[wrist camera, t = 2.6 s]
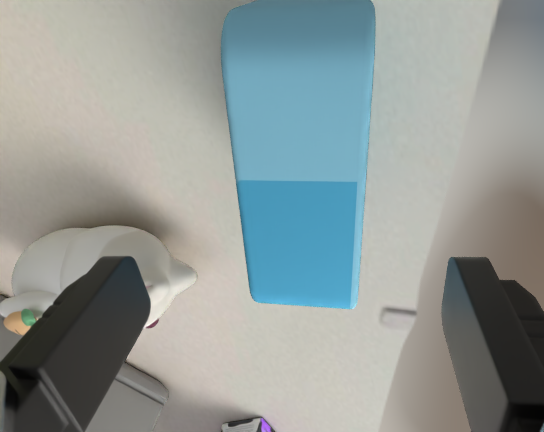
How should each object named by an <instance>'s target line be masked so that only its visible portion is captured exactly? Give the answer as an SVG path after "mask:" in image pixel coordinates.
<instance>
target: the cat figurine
mask: <svg viewBox="0 0 544 432" xmlns="http://www.w3.org/2000/svg"><path fill="white" fill-rule="evenodd" d="M103 256H131V257H133V258H134V259H135V261H136V263H137V265H138V268H139V270H140V273H141V276H142V278H143V281H144V284H145V286H146V289H147V292H148V294H149V297H150V301H151V310H150V315H149V318H148V321H147V323H146V324H145V326H144V328H152V327H154V326H155V325H156V324H157V323H158V321H159V317H160V316H161V315H162V314H163V313H164V312H165V311H166V310H167V308H168V307H169V305H170V304H171V302H172V300H173V299H174V297H175V296H176V295H177V294H179V293H180V292H182V291H184V290H186V289H187V288H189V287H190V286H192V285H193V284H194V283H195V282H196V280H197V273H196V271H195V270H194V269H193V268H192V267H190V266H188V265H187V264H185V263H183V262H181V261H179V260H177V259H175V258H174V257H172V256H171V255H170V253H169V251H168V250H167V248H166V247H165V245H164V244H163V243H162V242H161V241H160V240H159V239H158V238H157V237H155V236H154V235H152V234H150V233H148V232H146V231H144V230H141V229H137V228H133V227H128V226H119V225H110V226H100V227H95V228H91V229H87V228H67V229H62V230H58V231H55V232H52V233H49V234H47V235H45V236H43V237H41V238H40V239H38V240H36V241H35V242H34V243H32V244H31V245H30V246H29V247H28V248H27V249H26V250H25V251H24V252H23V253H22V254H21V256H20V257H19V259H18V260H17V262H16V264H15V267H14V270H13V274H12V289H13V293H14V297H10V298H7V299H5V300H3V301H2V302H1V303H0V314H1V315H2V316H4V317H6V318H5V319H4V321H3V323H4V326H5V327H6V328H7V329H8V330H10V331H12V332H14V333H16V334H19V335H25V333H26V332H27V331H28V330H29V329H30V328H31V327H32V325H33V324H34V323H35V322H36V321H37V320H38V319H39V318H42V314H43V313H44V312H45V311H46V310H47V308H48V307H49V306H50V305H53V302H54V301H55V299H56V298H57V297H58V296H59V295H60V294H61V293H62V291H63V290H64V289H65V288H66V287H67V286H69V285H70V284H72V283H73V282H74V281H76V280H77V279H79V278H80V277H81V276H83V275H84V274H87V272H88V271H89V270H90V269H91V268H92V267H93V265H94V264H95V263H96V262H97V261H98V260H99V259H100V258H101V257H103ZM144 328H143V329H144Z"/></svg>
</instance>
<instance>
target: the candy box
mask: <svg viewBox="0 0 544 432" xmlns="http://www.w3.org/2000/svg"><path fill="white" fill-rule="evenodd" d="M221 432H274V430H273V429H272V428H271V427H270V426H269V425H268V424H267V423H266V422H265V420H264V419H263V418H255V419H249V420H243V421H236V422H230V423H224V424H223V425H222V429H221Z"/></svg>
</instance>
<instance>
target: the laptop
mask: <svg viewBox="0 0 544 432" xmlns="http://www.w3.org/2000/svg"><path fill="white" fill-rule="evenodd" d="M5 299H7V298H5V297H4V296H2V295H0V303H1V302H2V301H3V300H5ZM5 318H6V317H4V316H2V315H1V314H0V362H1V361H2V359H3V358H4V357H5V356H6V355H7V354H8V353H9V352H10V350H11V349H12V348H13V347H14V346H15V345H16V344H17V342H18V341H19V340H20V339H21V338H22V337H23V336H24V335H19V334H16V333H14V332H12V331H10V330H8V329H7V328H6V327H5V326H4V323H3V321H4V319H5ZM168 397H169V394H168V391H167V390H166V388H165V387H164V386H163V385H162V384H161V383H160V382H159V381H157V380H156V379H154V378H152V377H150V376H148V375H146V374H145V373H143V372H141V371H139V370H137V369H135V368H134V367H132V366H130V365H128V364H126V363H123V365H122V367H121V369H120V370H119V372H118V374H117V376H116V377H115V379H114V381H113V383H112V385H111V386H110V388H109V390H108V392H107V393H106V395H105V397H104V399H103V401H102V402H101V404H100V406H99V408H98V409H97V411H96V413H95V415H94V416H93V418H92V420H91V422H90V424H89V425H88V427H87V429H86V431H85V432H152V431H153V429H154V427H155V424H156V422H157V420H158V417H159V415H160V412H161V410H162V408H163V406H164V404H165V403H166V401H167V399H168Z"/></svg>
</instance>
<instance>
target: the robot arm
mask: <svg viewBox="0 0 544 432" xmlns="http://www.w3.org/2000/svg"><path fill="white" fill-rule="evenodd" d="M150 310H151V301H150V297H149V294H148V292H147V289H146V286H145V284H144V281H143V278H142V276H141V273H140V270H139V268H138V265H137V263H136V261H135V259H134V258H133V257H131V256H103V257H101V258H100V259H99V260H98V261H97V262H96V263H95V264H94V265H93V267H92V268H91V269H90V270H89V271H88V272H87V274H84V275H83V276H81V277H80V278H79V279H77V280H76V281H74V282H73V283H72V284H70V285H69V286H67V287H66V288H65V289H64V290H63V291H62V293H61V294H60V295H59V296H58V297H57V298H56V299H55V301H54V302H53V305H50V306H49V307H48V308H47V310H46V311H45V312H44V313H43V314H42V318H39V319H38V320H37V321H36V322H35V323H34V324H33V325H32V327H31V328H30V329H29V330H28V331H27V332H26V333H25V335H24V336H23V337H22V338H21V339H20V340H19V341H18V342H17V344H16V345H15V346H14V347H13V348H12V349H11V350H10V352H9V353H8V354H7V355H6V356H5V357H4V358H3V359H2V361H1V362H0V432H85V431H86V429H87V427H88V425H89V424H90V422H91V420H92V418H93V416H94V415H95V413H96V411H97V409H98V408H99V406H100V404H101V402H102V401H103V399H104V397H105V395H106V393H107V392H108V390H109V388H110V386H111V385H112V383H113V381H114V379H115V377H116V376H117V374H118V372H119V370H120V369H121V367H122V365H123V363H124V362H125V360H126V358H127V356H128V354H129V353H130V351H131V349H132V347H133V346H134V344H135V342H136V340H137V338H138V337H139V335H140V333H141V331H142V330H143V328H144V326H145V324H146V323H147V321H148V318H149V315H150ZM442 325H443V331H444V335H445V338H446V342H447V345H448V349H449V353H450V356H451V360H452V364H453V367H454V371H455V374H456V378H457V382H458V385H459V389H460V392H461V396H462V400H463V403H464V407H465V411H466V414H467V418H468V421H469V425H470V428H471V432H544V311H543V310H542V308H541V306H540V305H539V303H538V301H537V300H536V298H535V297H534V296H533V295H532V294H531V293H529V292H528V291H527V290H526V289H525V288H523V287H522V286H521V285H520V284H519V283H517V282H516V281H515V280H499V278H498V276H497V274H496V272H495V270H494V268H493V266H492V264H491V262H490V261H489V259H488V258H486V257H451V258H450V259H449V261H448V267H447V274H446V280H445V287H444V294H443V301H442Z"/></svg>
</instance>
